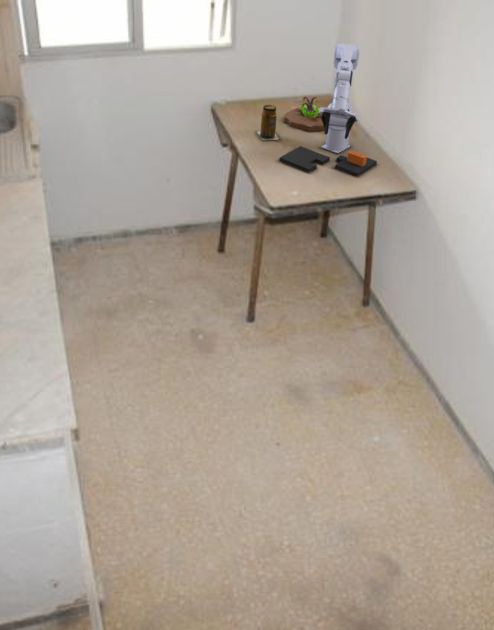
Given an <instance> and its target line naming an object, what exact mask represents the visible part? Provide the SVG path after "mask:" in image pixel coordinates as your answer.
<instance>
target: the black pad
mask: <svg viewBox="0 0 494 630" xmlns="http://www.w3.org/2000/svg"><path fill="white" fill-rule="evenodd" d="M330 160H331V157H330V156H328V155H325V154H323V153H320V152H317V151H315V150H312V149H310V148H307V147H304V146H302V145H300V146H298V147H296V148H294V149H292V150H291V151H289V152H286V153H285V154H283V155H282V156H280V157H279V160H278V161H279V163H280V162H281V163H284V164H285V165H287V166H291V167H293V168H295V169H297V170H301V171H303V172H305V173H308V174H310V173H311V172H313V171H315V170H316V169H317V168H318V165H322V166H323V165H325V164H326V163H328V162H330ZM315 163H317V164H315Z"/></svg>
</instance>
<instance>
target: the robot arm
mask: <svg viewBox="0 0 494 630" xmlns="http://www.w3.org/2000/svg"><path fill="white" fill-rule="evenodd" d="M360 51H361V46H360V44H350V43H342V42H341V43H339V42H336V43H335V45H334V54H333V67H334V69H336V70H335V74H334V82H333V84H334V86H333V87H334V89H333V99H332V102H331V103H329V104H328V106H327V107H325V106H324V107H323V106H321V107H319V108H320V111H319V114H322V116H321V120H322V122H323V125H324V130H323V131H324V135H325V136H326V139H325V140H326V141H325V144H323V145H321V147H320V148H321V149H324V150H326V151H329V152H331V153H335V154H339V153H342V152H343V151H345V150H347V149H348V148H350V147H351V145H350V144H349V142H350V135H351V130H352V128H353V126H354V124H355V123H357V122H358V121H359V119H360V116H359V114H356V113H354V112H353V108H352V106H351V105H350V104H349V103H350V102H349V101H350V95H351V94H350V93H351V87H352V85H353V80H354V71H355V70H356V69H357V67H358V63H359V59H360V53H361V52H360Z"/></svg>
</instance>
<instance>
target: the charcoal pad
mask: <svg viewBox="0 0 494 630" xmlns="http://www.w3.org/2000/svg"><path fill="white" fill-rule="evenodd" d="M335 162H337V163H336V164H334V169H335V170H338V171H341V172H343V173H346V174H349V175H351V176H354V177H356V178H357V177H360V176H361V175H363V174H364V173H366V172H367V171H368V170H370V169H372V168H373V167H375V166H377V163H378V161H377V160H375V159H372V158H370V157H368V156H367V155H364V154H362V153H359V152H357V151H355V150H350V151H348V152H347V156H344V155H342V154H340V155H338V156H336V159H335Z"/></svg>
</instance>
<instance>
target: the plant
mask: <svg viewBox="0 0 494 630" xmlns="http://www.w3.org/2000/svg"><path fill="white" fill-rule="evenodd" d="M301 100H302V101H307V102H304V103H302V104H299V105H298V107H295V108H292V109H290V110H289V111H286V113H285V114H284V118H283V123H284V124H285V123H286V124H288V125H289V126H290V127H292V128H295V129H298V130H302V131H305V132H309V133H310V132H320V131H324V125H323V122H322V120H321V116H322V114H319V111H320V108H321V107H317V105H316V104H314V101H315V102H316V103H318V102H319V101H320V100H319V98H318V97H317V96H313V97H312V98H311V99H309V98H308V97H307V96H303V97H302V98H301Z"/></svg>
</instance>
